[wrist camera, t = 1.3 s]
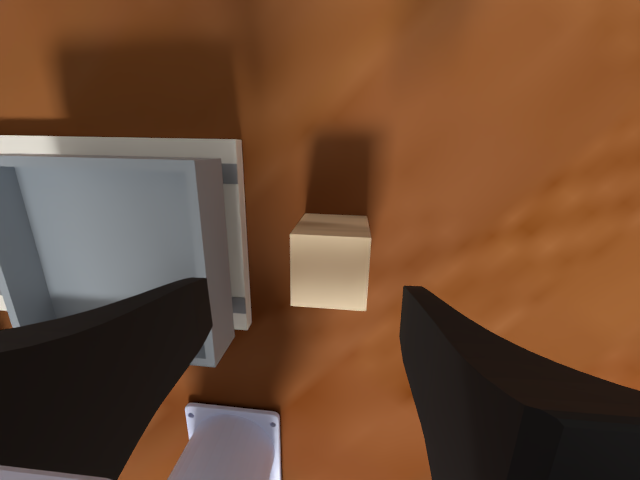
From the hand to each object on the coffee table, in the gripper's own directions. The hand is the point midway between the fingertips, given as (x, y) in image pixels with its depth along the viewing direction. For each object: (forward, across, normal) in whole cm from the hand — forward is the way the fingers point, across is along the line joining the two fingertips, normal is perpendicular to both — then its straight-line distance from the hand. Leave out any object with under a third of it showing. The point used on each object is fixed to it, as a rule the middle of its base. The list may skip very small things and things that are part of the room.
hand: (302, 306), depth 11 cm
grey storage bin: (+8, +11, 0) cm, 14 cm away
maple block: (+10, -1, +1) cm, 10 cm away
